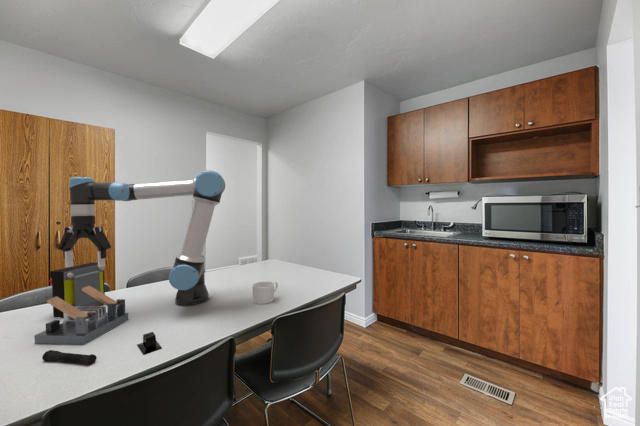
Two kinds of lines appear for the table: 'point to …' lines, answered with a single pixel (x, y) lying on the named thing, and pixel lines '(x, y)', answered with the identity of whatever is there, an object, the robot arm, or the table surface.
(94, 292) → the lever
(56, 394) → the table surface
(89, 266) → the electrical component
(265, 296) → the mug
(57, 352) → the long black strip
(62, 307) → the lever
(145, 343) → the black flanged mount
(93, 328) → the heatsink base
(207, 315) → the table surface
